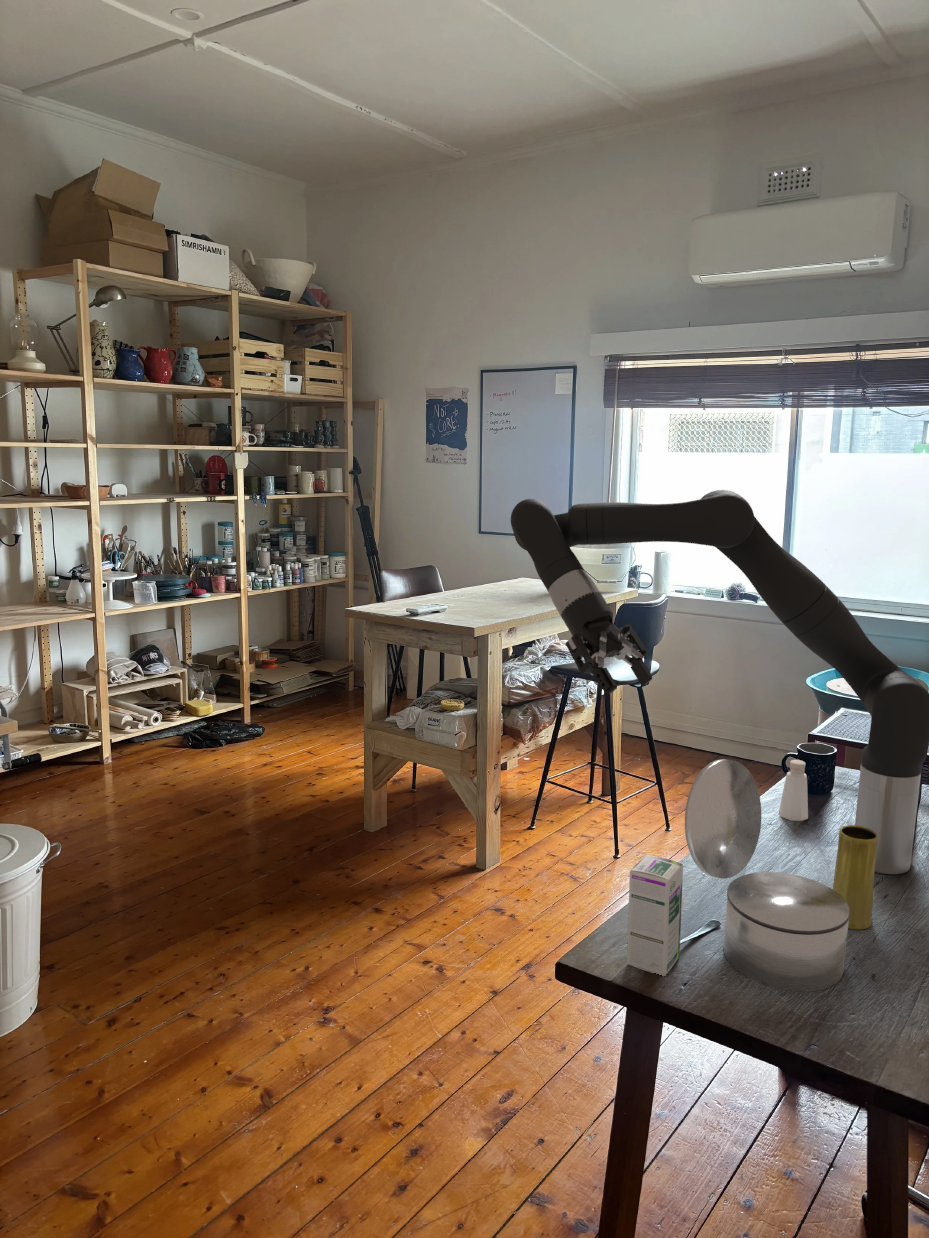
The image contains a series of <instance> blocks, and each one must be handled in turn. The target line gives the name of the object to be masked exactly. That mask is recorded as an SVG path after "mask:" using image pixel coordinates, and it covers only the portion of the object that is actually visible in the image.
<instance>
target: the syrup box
mask: <svg viewBox="0 0 929 1238" xmlns="http://www.w3.org/2000/svg"><path fill="white" fill-rule="evenodd" d="M683 876H684V865H683V863H680V862H678V861H675V860H673V859H669V858H665V857H662V856H661V857H660V856H656V855H651V854H644V856H643V857H642V858H641V859H640V860H639V861H638V862H637V863H636V864H635V865H634V866H633V867H632V868H631V869H630V870H629V881H628V883H629V887H628V912H627V914H628V915H627V916H628V918H627V921H628V922H627V948H626V950H627V952H626V953H627V954H626V955H627V956H626V957H627V958H626V962H627V964H626V965H629V966H631V967H634V968H637V969H640V970H642V971H645V972H648V973H651V974H654V973H656V974H655V975H657V974H659V975H658V976H660V975H662V977H664V976H665V977H666V976H667V975H666V974H668V973H669V972H670V970H671V969H672V968H673V966H675V964H676V962H677V961H678V960H679V958H680V956H681V955H680V953H681V952H680V949H681V948H680V947H681V927H682V924H681V923H682V902H683V901H682V900H683Z"/></svg>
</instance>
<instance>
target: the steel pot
mask: <svg viewBox="0 0 929 1238" xmlns="http://www.w3.org/2000/svg"><path fill="white" fill-rule="evenodd" d="M726 890H727V891H726V893H727V894H726V908H725V909H726V911H725V924H724V939H723V940H724V941H723V954H724V956H725V959H726V960H727V961H728V963H729V964H730V965H731V966H732V967H733V968H734V969H736V970H737V972H739V973H741V974H742V975H743V976H745V977H747V978H748V979H750V980H753V981H755V982H757V983H759V984H761V985H764V986H768V987H771V988H775V989H778V990H784V991H787V992H788V991H791V992H803V993H804V992H816V991H817V992H818V991H821V990H825V989H829V988H830V987H833V986H834V985H836V984H837V983H838V982H840V980H841V979H842V977H843V974H844V971H845V970H844V969H845V962H846V961H845V959H846V953H847V952H846V950H847V941H848V931H849V929H848V922H849V917H850V908H849V905H848V903H847V902H846V901H845V899H844V898H843V897H842V896H841V895H840V894H838V893H837V892H836V891H834V890H833V888H831V887H829V886H828V885H826V884H823V883H822V882H819V881H816V880H814V879H811V878H808V877H806V876H801V875H797V874H792V873H787V872H776V871H758V872H752V873H747V874H743V875H741V876H739V877H737V878H735V879H734V880H732V881H731V882H730V883H729V885H728V887H727V889H726Z"/></svg>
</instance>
